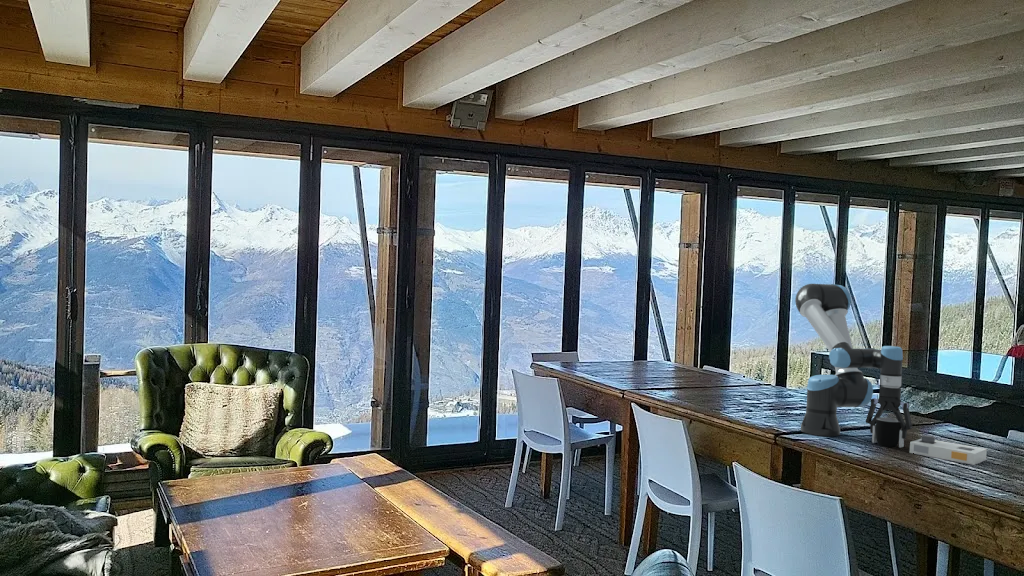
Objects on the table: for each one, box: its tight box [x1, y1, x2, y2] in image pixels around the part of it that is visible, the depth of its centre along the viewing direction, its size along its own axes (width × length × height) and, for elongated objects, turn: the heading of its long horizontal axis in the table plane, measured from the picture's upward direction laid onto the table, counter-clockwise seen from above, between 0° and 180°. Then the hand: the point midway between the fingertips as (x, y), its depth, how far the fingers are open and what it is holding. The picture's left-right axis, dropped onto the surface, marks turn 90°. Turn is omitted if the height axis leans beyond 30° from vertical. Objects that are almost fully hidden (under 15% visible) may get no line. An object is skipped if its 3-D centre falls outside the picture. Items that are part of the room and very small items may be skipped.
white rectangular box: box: [909, 438, 988, 466], centre depth 310 cm, size 22×13×4 cm, turn 44°
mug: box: [876, 416, 902, 448], centre depth 326 cm, size 12×9×10 cm
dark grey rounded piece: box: [921, 434, 936, 444], centre depth 315 cm, size 4×4×3 cm
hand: (887, 444), depth 325 cm, fingers closed on mug, 9 cm apart
